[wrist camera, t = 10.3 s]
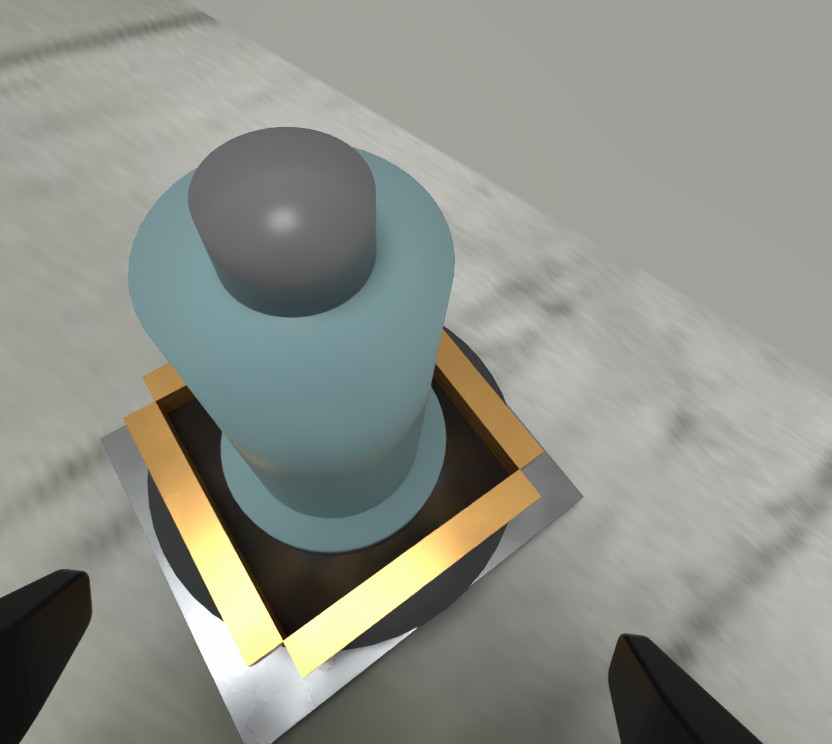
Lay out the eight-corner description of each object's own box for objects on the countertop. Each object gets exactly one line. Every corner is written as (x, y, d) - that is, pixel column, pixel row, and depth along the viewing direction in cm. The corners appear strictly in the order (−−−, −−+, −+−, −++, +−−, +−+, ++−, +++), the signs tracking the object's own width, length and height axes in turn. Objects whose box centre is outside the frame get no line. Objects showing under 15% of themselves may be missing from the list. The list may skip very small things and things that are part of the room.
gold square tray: (257, 752, 19) (217, 791, 14) (110, 446, 24) (45, 399, 19) (575, 502, 24) (623, 469, 19) (402, 289, 28) (406, 222, 24)
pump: (409, 585, 18) (465, 495, 6) (193, 518, 19) (-115, 323, 7) (466, 369, 22) (566, 71, 10) (288, 319, 22) (191, -17, 11)
